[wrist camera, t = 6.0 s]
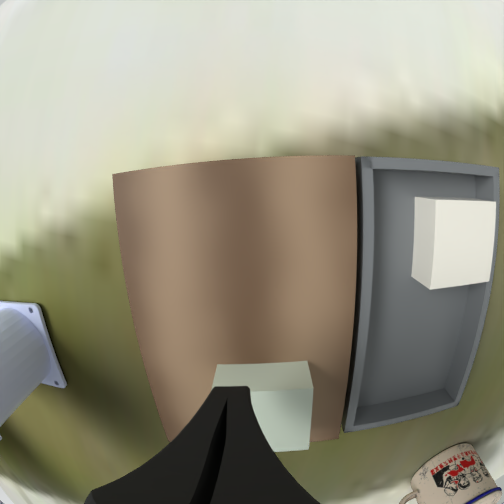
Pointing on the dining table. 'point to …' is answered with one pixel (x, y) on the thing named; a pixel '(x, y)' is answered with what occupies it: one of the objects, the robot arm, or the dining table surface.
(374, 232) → the box
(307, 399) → the sage tile
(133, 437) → the dining table surface
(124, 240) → the walnut plate
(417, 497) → the teacup with lid
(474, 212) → the cream tile
